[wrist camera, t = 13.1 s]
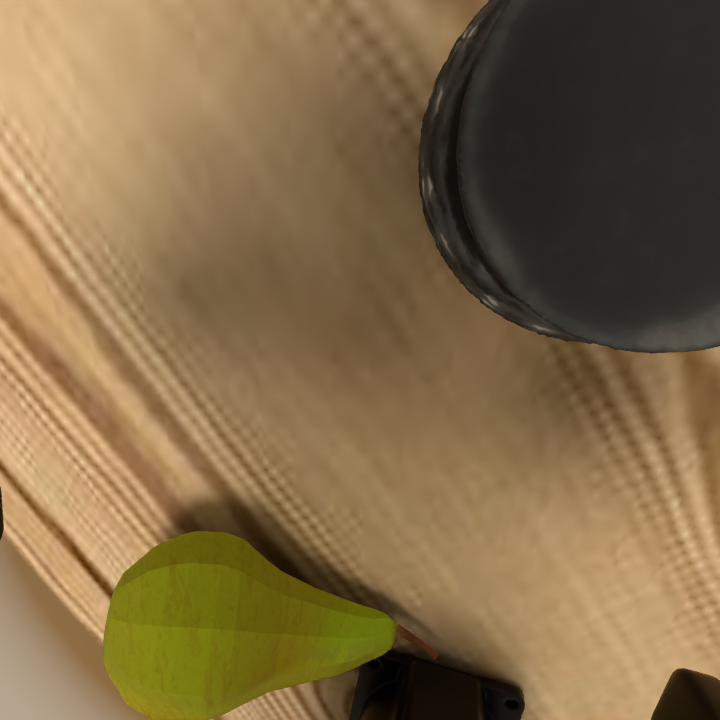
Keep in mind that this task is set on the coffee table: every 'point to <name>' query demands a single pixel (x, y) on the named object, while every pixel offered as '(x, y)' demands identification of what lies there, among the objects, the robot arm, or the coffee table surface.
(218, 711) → the fruit
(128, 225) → the coffee table surface
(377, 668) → the robot arm
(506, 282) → the pill bottle
